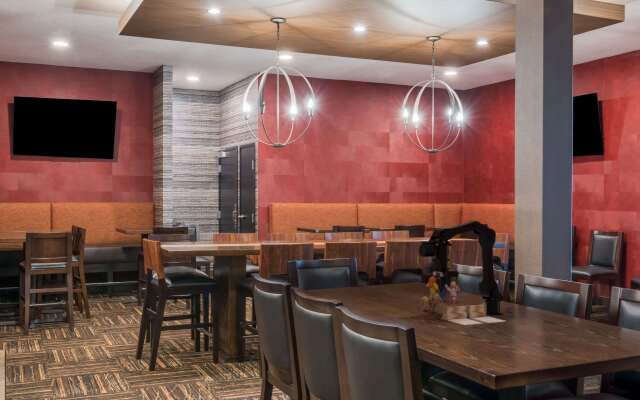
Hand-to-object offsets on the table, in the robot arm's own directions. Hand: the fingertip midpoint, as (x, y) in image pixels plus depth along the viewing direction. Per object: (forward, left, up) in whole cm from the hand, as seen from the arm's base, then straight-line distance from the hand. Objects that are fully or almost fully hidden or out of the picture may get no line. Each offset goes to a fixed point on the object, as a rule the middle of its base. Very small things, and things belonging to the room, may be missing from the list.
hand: (441, 291), depth 309 cm
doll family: (-27, -41, -12) cm, 50 cm away
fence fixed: (-16, +5, -12) cm, 20 cm away
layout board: (-10, +10, -12) cm, 19 cm away
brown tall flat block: (-4, +5, -11) cm, 13 cm away
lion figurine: (-5, -17, -12) cm, 21 cm away
